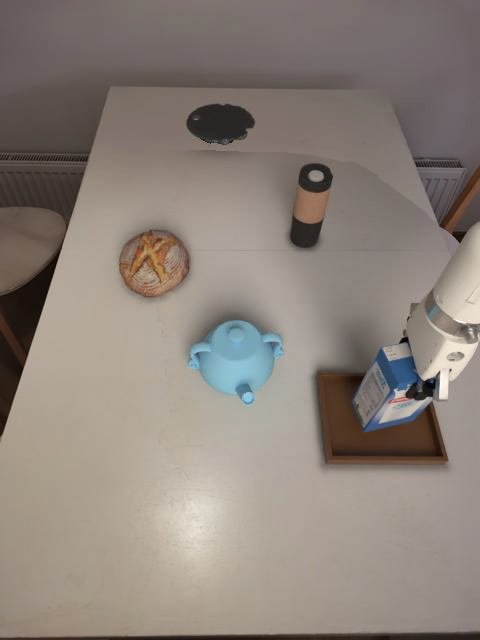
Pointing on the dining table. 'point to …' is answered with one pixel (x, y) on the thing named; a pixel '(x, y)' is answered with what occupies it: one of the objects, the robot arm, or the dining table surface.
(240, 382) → the teapot
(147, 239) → the bread
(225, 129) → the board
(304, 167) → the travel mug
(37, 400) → the dining table surface
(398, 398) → the milk carton
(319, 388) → the tray
